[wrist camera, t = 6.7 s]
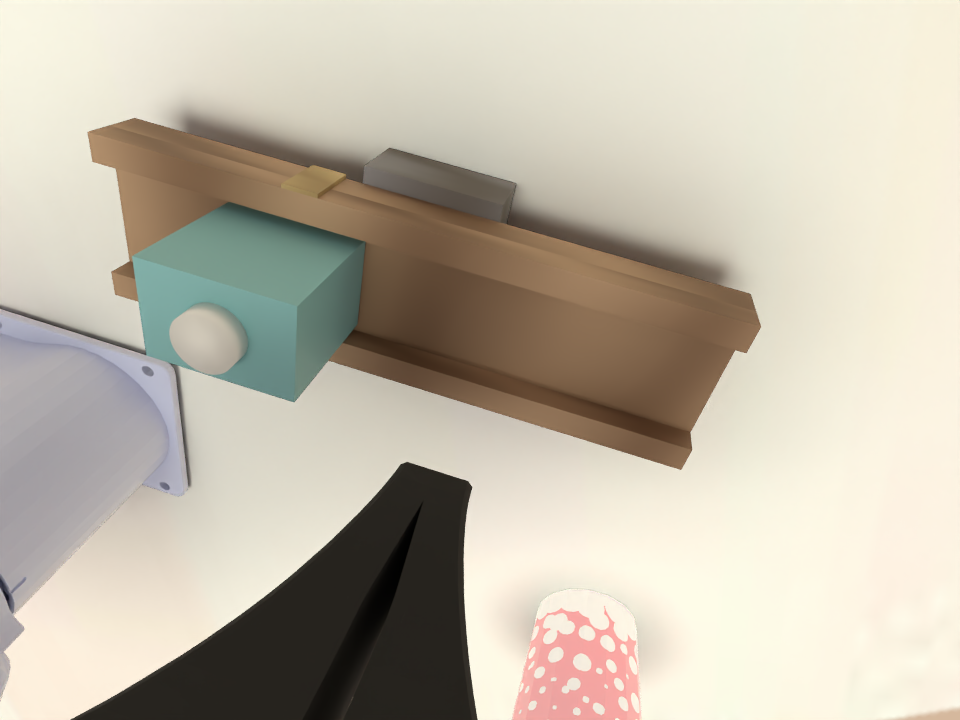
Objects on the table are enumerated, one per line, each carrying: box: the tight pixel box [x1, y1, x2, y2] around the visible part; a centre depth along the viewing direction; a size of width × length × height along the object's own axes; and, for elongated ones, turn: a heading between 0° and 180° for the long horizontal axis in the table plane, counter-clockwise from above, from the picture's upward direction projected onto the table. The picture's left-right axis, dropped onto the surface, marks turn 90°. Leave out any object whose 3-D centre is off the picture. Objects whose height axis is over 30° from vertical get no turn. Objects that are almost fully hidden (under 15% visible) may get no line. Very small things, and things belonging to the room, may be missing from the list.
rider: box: [132, 202, 366, 402], centre depth 16 cm, size 4×3×5 cm
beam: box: [88, 118, 761, 470], centre depth 18 cm, size 18×6×4 cm, turn 78°
